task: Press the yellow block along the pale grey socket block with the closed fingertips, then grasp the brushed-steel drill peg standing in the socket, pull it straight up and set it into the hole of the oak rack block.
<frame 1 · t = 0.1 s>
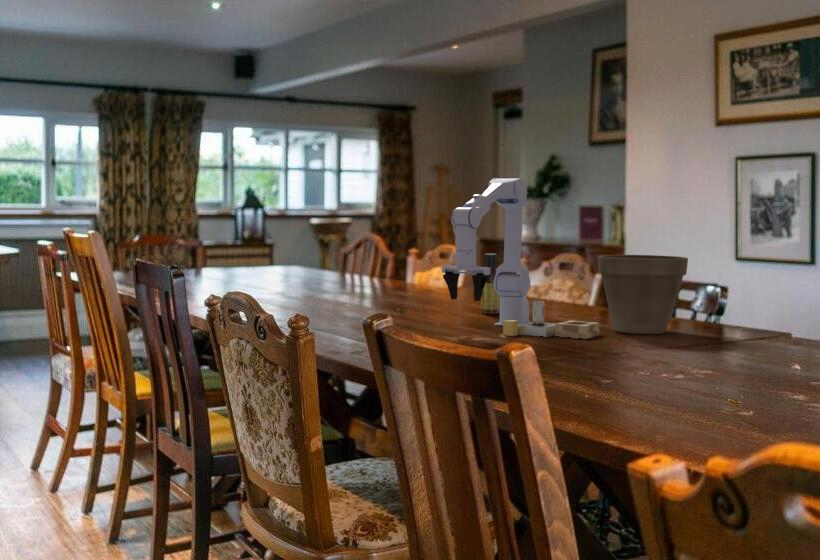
hand: (465, 299, 263), 10 cm above the table, fingers open, 7 cm apart
drill peg: (538, 317, 267), in the socket block
sauce bottle: (490, 314, 315), on the table
plant pot: (640, 332, 272), on the table
rack: (577, 335, 263), on the table
yellow block: (510, 327, 265), point 2 cm above the table, slide at 0.0 cm
socket block: (538, 333, 268), on the table
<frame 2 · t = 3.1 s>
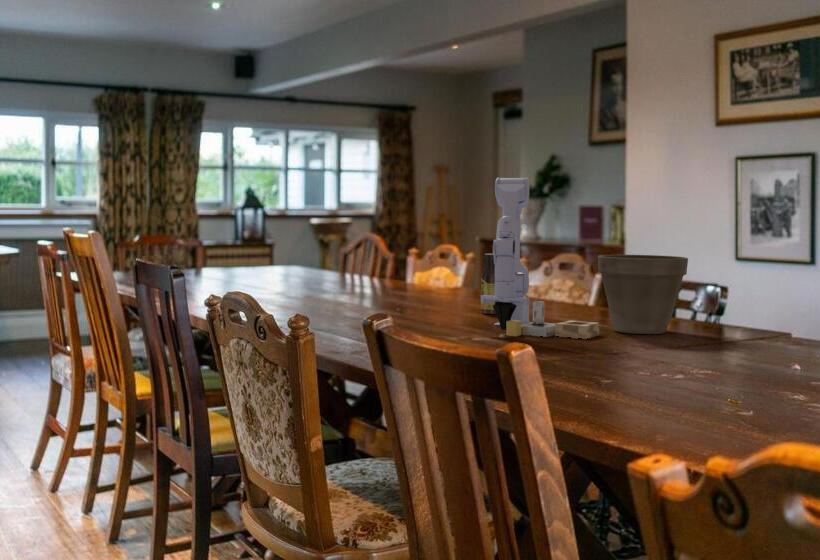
hand: (504, 329, 266), 1 cm above the table, fingers closed
yellow block: (513, 328, 264), point 2 cm above the table, slide at 1.0 cm, touching gripper
everything else where it was.
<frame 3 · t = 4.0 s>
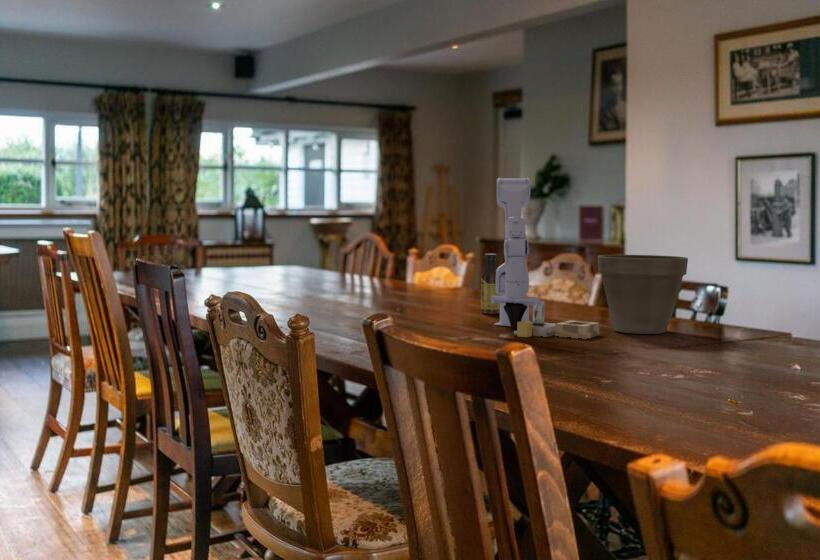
hand: (515, 330, 264), 1 cm above the table, fingers closed
yellow block: (524, 329, 262), point 2 cm above the table, slide at 4.4 cm, touching gripper
everything else where it was.
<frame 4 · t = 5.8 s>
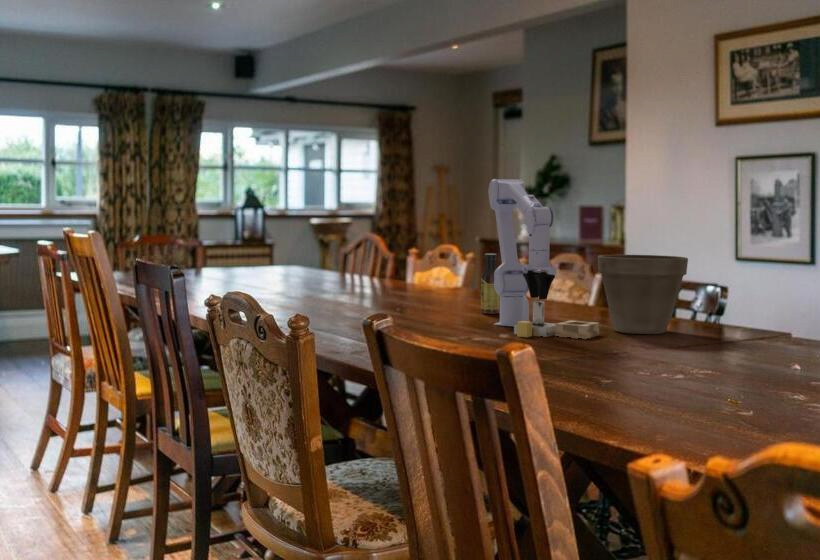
hand: (538, 298, 267), 10 cm above the table, fingers open, 4 cm apart
yellow block: (524, 329, 262), point 2 cm above the table, slide at 4.4 cm
everything else where it was.
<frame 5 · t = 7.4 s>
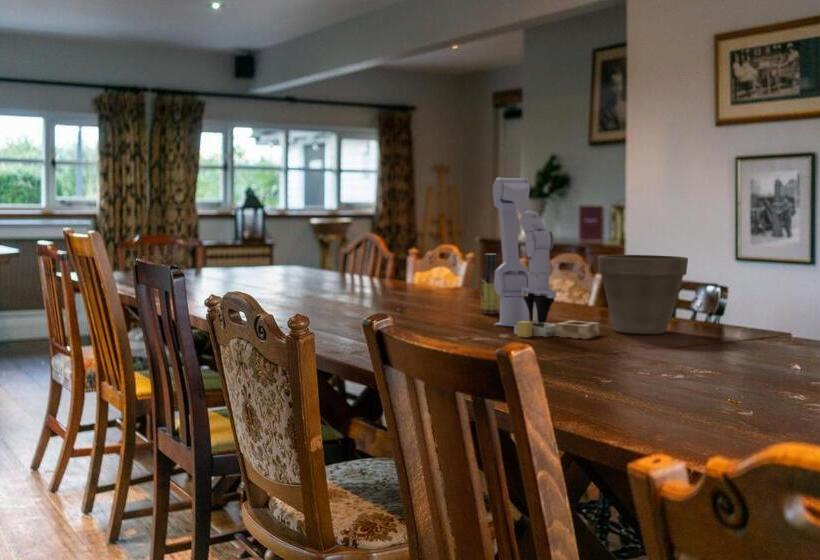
hand: (538, 321, 267), 3 cm above the table, fingers closed on drill peg, 3 cm apart
drill peg: (538, 317, 267), in the socket block, touching gripper
everything else where it was.
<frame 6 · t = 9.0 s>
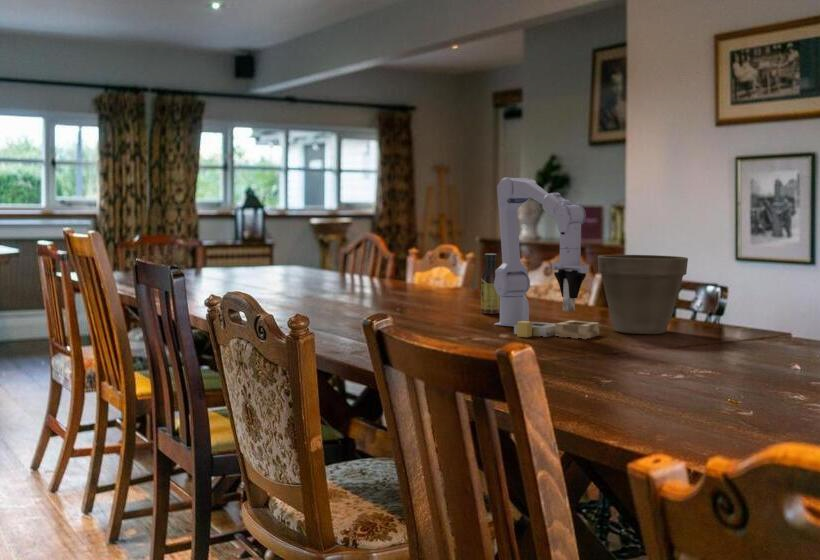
hand: (569, 297, 263), 11 cm above the table, fingers closed on drill peg, 3 cm apart
drill peg: (568, 294, 263), point 11 cm above the table, touching gripper
everything else where it was.
when the fingers open (4 cm above the table, at t = 10.7 s): drill peg stays where it is, resting in rack.
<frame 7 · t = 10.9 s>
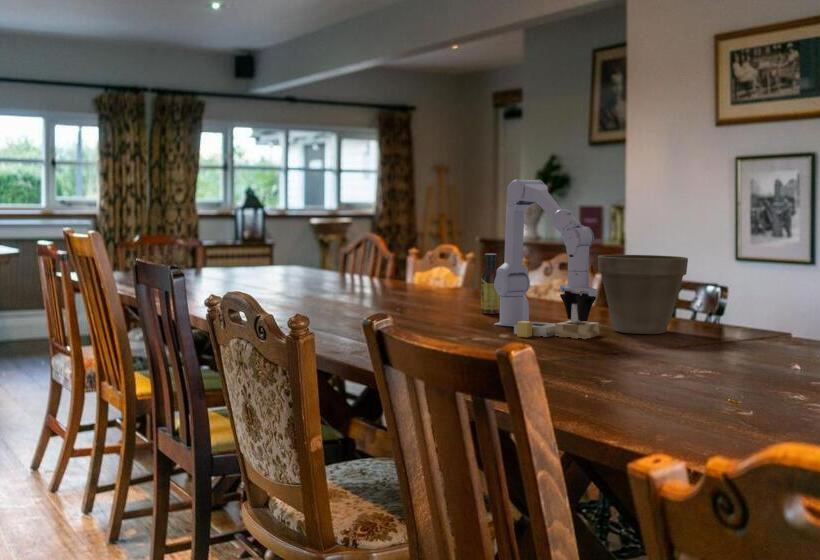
hand: (577, 320, 263), 4 cm above the table, fingers open, 5 cm apart
drill peg: (576, 319, 263), in the rack
everything else where it was.
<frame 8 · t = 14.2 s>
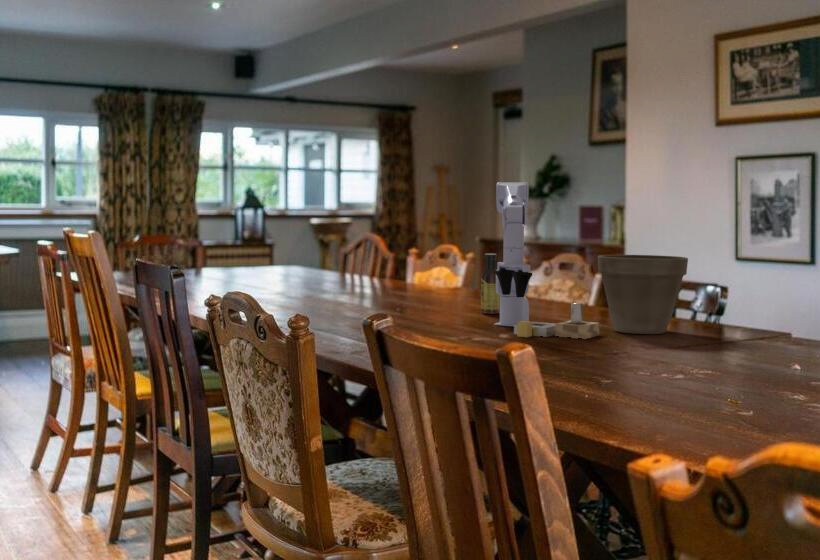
hand: (513, 295, 269), 10 cm above the table, fingers open, 7 cm apart
nothing on the table moved.
at the end: drill peg 0.2 cm off-centre on the rack, point 4.5 cm above the rack's base; drill peg tilted 0°; yellow block slide at 4.4 cm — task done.
